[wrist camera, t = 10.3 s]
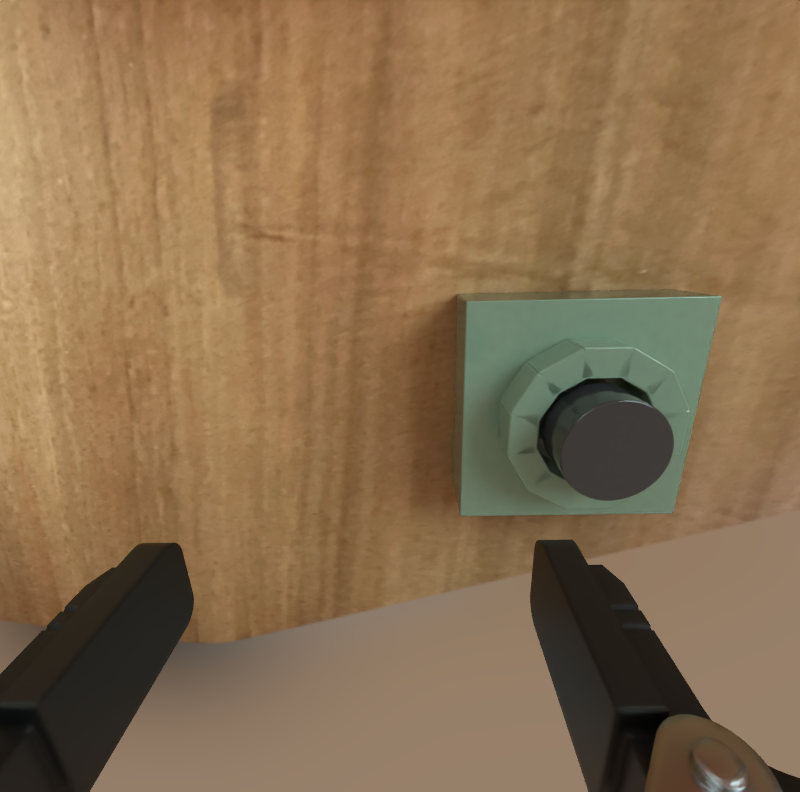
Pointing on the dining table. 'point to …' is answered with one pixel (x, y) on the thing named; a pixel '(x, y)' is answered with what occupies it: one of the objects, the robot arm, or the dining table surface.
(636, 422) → the button
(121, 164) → the dining table surface
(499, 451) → the button base
